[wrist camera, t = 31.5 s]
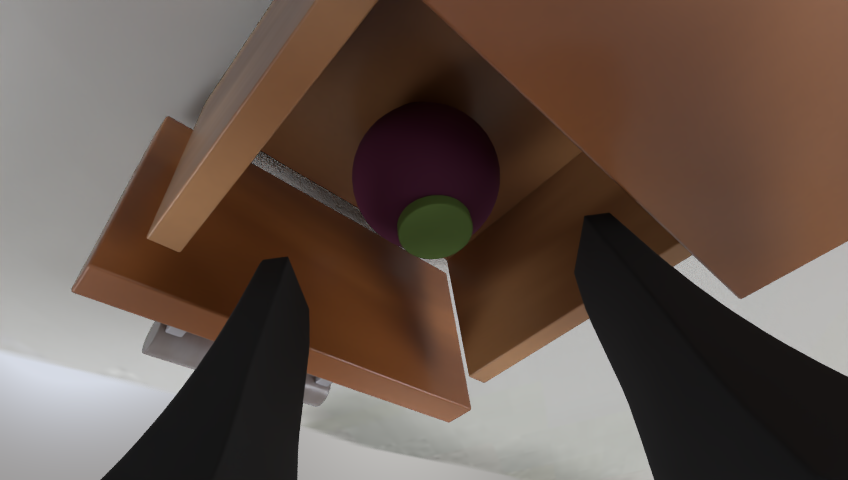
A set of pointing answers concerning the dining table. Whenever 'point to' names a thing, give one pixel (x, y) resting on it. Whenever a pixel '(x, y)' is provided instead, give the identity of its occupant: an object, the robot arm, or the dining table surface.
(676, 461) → the robot arm
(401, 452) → the dining table surface
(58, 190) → the dining table surface
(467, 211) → the mangosteen
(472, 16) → the cabinet
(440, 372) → the drawer
